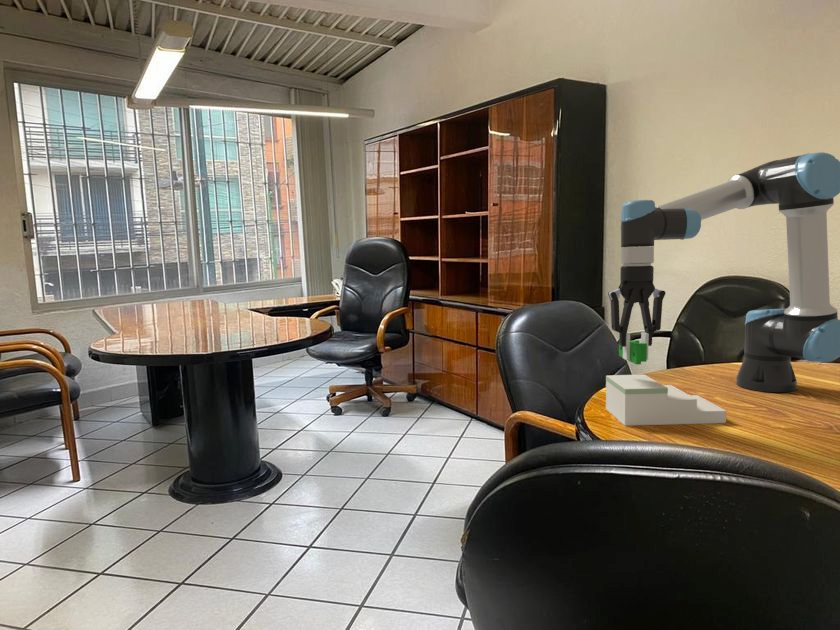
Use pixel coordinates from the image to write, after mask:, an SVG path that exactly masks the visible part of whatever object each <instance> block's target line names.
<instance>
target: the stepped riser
mask: <svg viewBox="0 0 840 630" xmlns="http://www.w3.org/2000/svg"><path fill="white" fill-rule="evenodd" d="M605 410H607V411H608V412H609V413H610V415H613V416H614V418H616V420H618V421H619V422H620V423H621V424H622V425H623V426H624V427H625V426H629V427H631V426H659V425H660V426H662V425H663V426H666V425H700V424H701V425H702V424H726V423H727V410H725V408H722V407H720V406H718V405H716V404H714V403H713V402H710V401H709V400H708V399H705V398H704V397H702V396H700V395H698V394H697V395H695V394H693V395H690V394H688V393H686V392H684V391H683V390H680V389H679V388H677V387H675V386H673V385H672V384H661V383H660V382H658V381H657V380H655V379H653V378H652V377H649V376H648V375H646V374H615V375H614V374H613V375H605Z"/></svg>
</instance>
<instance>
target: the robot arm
mask: <svg viewBox="0 0 840 630" xmlns="http://www.w3.org/2000/svg"><path fill="white" fill-rule="evenodd" d="M838 195H840V160H839V159H837V158H836V157H835V156H834V155H833V154H831V153H828V152H821V151H820V152H812V153H809V152H808V153H806V154H801V155H796V156H791V157H787V158H783V159H776V160H772V161H767V162H765V163H762V164H761V165H757V166H755V167H753V168H751V169H749V170H747V171H743V172H741V173H739V174H736V175H733V176H731V177H730V178H729V179H728V180H727V182H725V183H722V184H718V185H715V186H713V187H709V188H706V189H705V190H701V191H698V192H695V193H693V194H689V195H687V196H684V197H681V198H678V199H675V200H673V201H669V202H667V203H663V204H661V205H658V206H656V203H655V201H654V200H652V199H638V200H637V199H636V200H629V201H625V202H623V204H622V206H621V213H620V214H621V215H620V264H622V266H621V267H620V283H619V286H618V288H617V289H615V290H613V291H608V293H607V295H608V298H609V300H610V319H611V330H612V331H615V332H616V333H618V334H619V336H618V337H619V339H618V345H619V344H620V346H622V347H623V358H622V359H624V361H628V360H630V340H631V334H630V333H628V329H629V325H630V322H631V321H630V320H631V316H632V311H633V307H634V305H635V304H636V303H638V304H639V305H638V306H639V307H640V311H641V312H640V313H641V318H642V323H643V329H644V331H643V332H642V331H641V333H640V335H641V336H640V343H646V344H647V361H648V360H649V347H651V346H652V344H653V334H655V332H656V331H660V330H661V326H662V311H663V310H662V309H663V301H664V298H665V296H666V291H665V290H662V289H661V290H660V289H658V288H656V287H655V285H654V274H655V273H654V269H655V268H654V266H653V265H652V264H654V262H655V241H665V240H668V241H670V240H689V239H693V238H695V237H696V236H697V235H698V234H699V232H700V231H701V227H702V221H704V220H706V219H709V218H711V217H714V216H716V215H720V214H723V213H725V212H728V211H731V210H734V209H737V210H745V209H747V208H750V207H751V208H752V207H756V206H765V205H775V204H778V212H779V213H781V214H782V215H783V216H784V217H786V218H785V220H786V222H785V223H786V240H787V242H786V244H787V262H788V263H787V264H788V267H787V268H788V282H789V283H788V284H789V285H788V287H789V306H788V307H787V308H769V309H767V308H766V309H753V310H749V311H747V313H746V316H745V322H744V339H743V341H744V348H743V349H744V350H743V352H744V353H743V361H742V362H741V365H740V368H739V370H738V372H737V375H736V376H735V377H736V379H735V381H736V383H735V384H736V385H737V386H738V387H741V388H744V389H748V390H751V391H752V390H753V391H758V392H766V393H767V392H769V393H789V392H790V393H791V392H794V391H796V390H797V388H798V381H797V377H796V374H795V371H794V368H793V366H792V365H793V364H792V362H791V361H792V358H797V359H801V360H805V361H808V362H812V363H813V362H817V363H822V364H823V363H830V362H833V361H835V360H837V359H838V358H840V319H838V309H837V308H836V307H835V306H833V305H832V304H831V301H830V299H831V296H830V277H829V273H830V272H829V271H830V269H829V248H828V247H829V245H828V242H829V241H828V222H827V221H828V219H827V217H828V216H827V213H828V211H829V210H830V209H831V208H832V207H833V206H834V205H835V202H834V201H835V200H834V199H835V197H836V196H838ZM620 295H621V296H622V297H623V299H624V300H623V309H622V314H621V318H620V300H619V299H620ZM652 295H653V302H652V303H653V304H652V316H651V311H650V299H649V298H650V297H651V296H652Z"/></svg>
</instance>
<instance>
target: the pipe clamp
mask: <svg viewBox="0 0 840 630" xmlns="http://www.w3.org/2000/svg"><path fill="white" fill-rule="evenodd" d="M618 356H619V357H620V358H622V359H623V347H622V346H620V344H619V343H618ZM627 361H629V362H631V363H632V364H634V365H638V366H639V365H642V363H643V362H647V361H648V360H647V344H646V343H641V342H640V340H638V339H636V340H635V339H634V340H632V339H630V360H627Z"/></svg>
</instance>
